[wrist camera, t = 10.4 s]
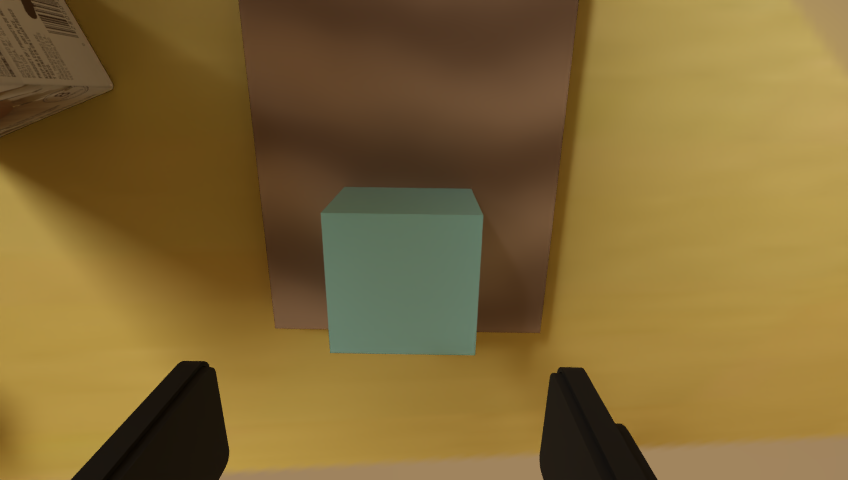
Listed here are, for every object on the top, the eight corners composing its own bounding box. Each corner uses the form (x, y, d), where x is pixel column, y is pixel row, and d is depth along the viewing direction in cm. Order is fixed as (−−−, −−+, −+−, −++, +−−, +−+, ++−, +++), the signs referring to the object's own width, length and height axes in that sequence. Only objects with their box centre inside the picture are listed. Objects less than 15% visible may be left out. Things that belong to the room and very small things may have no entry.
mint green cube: (344, 186, 21) (320, 212, 17) (471, 188, 21) (483, 215, 17) (350, 301, 24) (330, 352, 19) (465, 303, 24) (475, 355, 19)
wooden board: (242, -81, 19) (178, -142, 14) (577, -77, 19) (629, -136, 14) (283, 315, 26) (249, 368, 21) (533, 319, 26) (559, 373, 21)
